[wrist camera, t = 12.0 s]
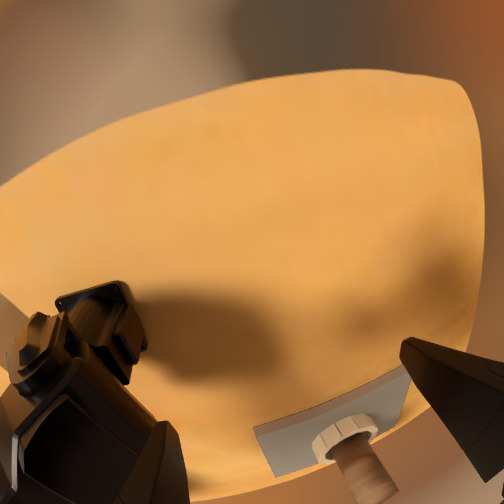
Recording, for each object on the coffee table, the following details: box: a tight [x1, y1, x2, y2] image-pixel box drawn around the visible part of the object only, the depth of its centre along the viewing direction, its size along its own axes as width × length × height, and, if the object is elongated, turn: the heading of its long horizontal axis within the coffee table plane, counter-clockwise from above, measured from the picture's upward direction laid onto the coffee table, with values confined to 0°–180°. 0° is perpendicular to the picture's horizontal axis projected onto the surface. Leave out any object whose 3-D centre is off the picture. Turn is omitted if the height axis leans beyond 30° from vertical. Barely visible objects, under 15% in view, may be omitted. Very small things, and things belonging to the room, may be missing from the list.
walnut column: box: [330, 432, 399, 504], centre depth 24 cm, size 5×5×13 cm
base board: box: [253, 365, 411, 478], centre depth 30 cm, size 22×16×4 cm
